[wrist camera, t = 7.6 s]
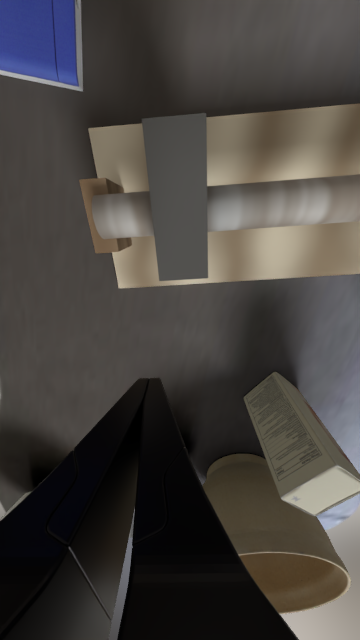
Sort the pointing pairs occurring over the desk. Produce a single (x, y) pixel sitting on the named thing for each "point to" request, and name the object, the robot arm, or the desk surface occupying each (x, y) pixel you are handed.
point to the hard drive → (42, 41)
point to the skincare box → (299, 448)
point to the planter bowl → (274, 536)
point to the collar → (178, 193)
